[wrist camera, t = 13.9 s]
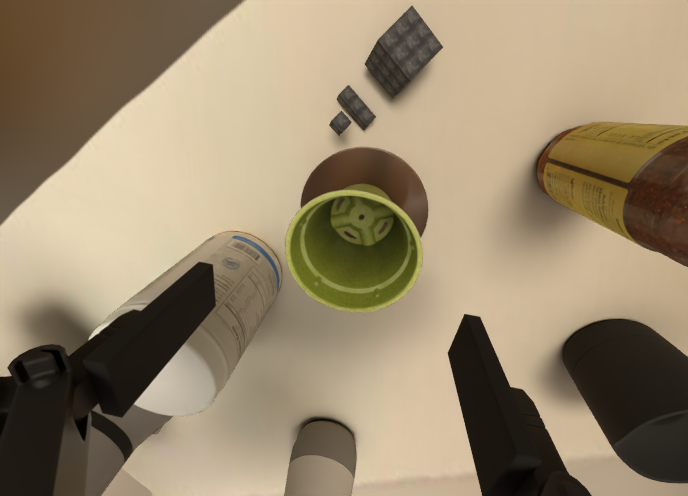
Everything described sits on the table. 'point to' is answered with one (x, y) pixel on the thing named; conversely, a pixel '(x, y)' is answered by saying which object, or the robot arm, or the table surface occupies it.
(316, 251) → the plant pot
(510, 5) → the table surface
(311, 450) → the smart speaker
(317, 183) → the coaster
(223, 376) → the supplement tub
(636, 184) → the sauce bottle
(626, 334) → the pen holder
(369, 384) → the table surface
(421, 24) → the building blocks
